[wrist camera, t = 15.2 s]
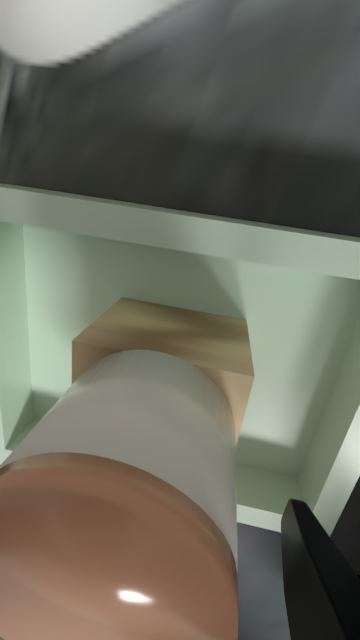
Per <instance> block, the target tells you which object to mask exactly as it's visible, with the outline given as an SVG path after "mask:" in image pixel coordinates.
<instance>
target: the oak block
mask: <svg viewBox="0 0 360 640" xmlns="http://www.w3.org/2000/svg"><path fill="white" fill-rule="evenodd" d="M127 350H151V351H158V352H162V353H166V354H170V355H173V356H175V357H178V358H180V359H183V360H185V361H187V362H188V363H190V364H192V365H194V366H195V367H197V368H198V369H200V370H201V371H202V372H204V373H205V374H206V375H207V376H208V377H209V378H211V379H212V380H213V381H214V382H215V384H216V385H217V386H218V387H219V388H220V389H221V391H222V392H223V394H224V396H225V397H226V399H227V401H228V403H229V405H230V407H231V410H232V413H233V416H234V421H235V433H236V445H237V441H238V438H239V434H240V430H241V426H242V423H243V419H244V415H245V411H246V408H247V404H248V400H249V396H250V393H251V389H252V385H253V381H254V378H255V375H254V368H253V361H252V354H251V347H250V340H249V333H248V326H247V320H244V319H239V318H233V317H228V316H222V315H217V314H211V313H206V312H200V311H195V310H189V309H184V308H178V307H173V306H167V305H162V304H156V303H151V302H145V301H140V300H134V299H129V298H123V297H121V298H120V299H119V300H118V301H117V302H115V303H114V304H113V305H112V306H111V307H110V308H109V309H107V310H106V311H105V312H104V313H103V314H102V315H101V316H99V317H98V318H97V319H96V320H95V321H94V322H93V323H91V324H90V325H89V326H88V327H87V328H86V329H85V330H83V331H82V332H81V333H80V334H79V335H78V336H77V337H75V338H74V339H73V340H72V384H73V383H74V382H75V381H76V380H77V378H78V377H79V376H80V375H81V374H82V373H83V372H84V371H85V370H86V369H87V368H88V367H89V366H90V365H91V364H93V363H94V362H96V361H97V360H99V359H101V358H103V357H105V356H108V355H110V354H113V353H117V352H121V351H127Z"/></svg>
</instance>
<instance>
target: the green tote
mask: <svg viewBox="0 0 360 640" xmlns="http://www.w3.org/2000/svg"><path fill="white" fill-rule="evenodd" d="M121 297H123V298H129V299H134V300H140V301H145V302H151V303H156V304H162V305H167V306H173V307H178V308H184V309H189V310H195V311H200V312H206V313H211V314H217V315H222V316H228V317H233V318H239V319H244V320H247V326H248V333H249V340H250V347H251V354H252V361H253V368H254V375H255V378H254V381H253V385H252V389H251V393H250V396H249V400H248V404H247V408H246V411H245V415H244V419H243V423H242V426H241V430H240V434H239V438H238V441H237V445H236V500H237V522H239V523H244V524H248V525H252V526H256V527H260V528H264V529H269V530H273V531H277V532H281V519H282V515H283V513H284V510H285V508H286V505H287V502H288V500H289V499H290V498H293V499H298V500H302V501H304V502H305V503H307V505H308V506H309V508H310V509H311V511H312V512H313V513H314V515H315V516H316V518H317V519H318V521H319V522H320V524H321V525H322V526H323V528H324V529H325V531H326V532H327V534H328V535H329V537H330V536H331V533H332V531H333V529H334V527H335V525H336V523H337V521H338V519H339V517H340V515H341V513H342V511H343V509H344V507H345V505H346V503H347V501H348V499H349V497H350V495H351V492H352V490H353V488H354V486H355V484H356V482H357V480H358V478H359V476H360V237H353V236H347V235H340V234H334V233H327V232H320V231H314V230H307V229H301V228H294V227H288V226H281V225H275V224H268V223H262V222H255V221H248V220H242V219H235V218H229V217H222V216H216V215H209V214H203V213H196V212H190V211H183V210H176V209H170V208H163V207H157V206H150V205H144V204H137V203H131V202H124V201H117V200H111V199H104V198H98V197H91V196H85V195H78V194H72V193H65V192H59V191H52V190H45V189H39V188H32V187H26V186H19V185H13V184H2V183H0V465H1V464H2V463H3V462H4V461H5V460H6V459H7V457H8V456H9V455H10V454H11V453H12V452H13V451H14V450H15V448H16V447H17V446H18V445H19V444H20V443H21V442H22V441H23V439H24V438H25V437H26V436H27V435H28V434H29V433H30V431H31V430H32V429H33V428H34V427H35V426H36V425H37V424H38V422H39V421H40V420H41V419H42V418H43V417H44V416H45V415H46V413H47V412H48V411H49V410H50V409H51V408H52V407H53V405H54V404H55V403H56V402H57V401H58V400H59V399H60V398H61V396H62V395H63V394H64V393H65V392H66V391H67V390H68V389H69V387H70V386H71V385H72V340H73V339H74V338H75V337H77V336H78V335H79V334H80V333H81V332H82V331H83V330H85V329H86V328H87V327H88V326H89V325H90V324H91V323H93V322H94V321H95V320H96V319H97V318H98V317H99V316H101V315H102V314H103V313H104V312H105V311H106V310H107V309H109V308H110V307H111V306H112V305H113V304H114V303H115V302H117V301H118V300H119V299H120V298H121Z"/></svg>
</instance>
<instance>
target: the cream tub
mask: <svg viewBox="0 0 360 640" xmlns="http://www.w3.org/2000/svg"><path fill="white" fill-rule="evenodd" d="M0 636H1V637H2V638H3V639H4V640H237V638H238V567H237V500H236V433H235V421H234V416H233V413H232V410H231V407H230V405H229V403H228V401H227V399H226V397H225V396H224V394H223V392H222V391H221V389H220V388H219V387H218V386H217V385H216V384H215V382H214V381H213V380H212V379H211V378H209V377H208V376H207V375H206V374H205V373H204V372H202V371H201V370H200V369H198V368H197V367H195V366H194V365H192V364H190V363H188V362H187V361H185V360H183V359H180V358H178V357H175V356H173V355H170V354H166V353H162V352H158V351H151V350H127V351H121V352H117V353H113V354H110V355H108V356H105V357H103V358H101V359H99V360H97V361H96V362H94V363H93V364H91V365H90V366H89V367H88V368H87V369H86V370H85V371H84V372H83V373H82V374H81V375H80V376H79V377H78V378H77V380H76V381H75V382H74V383H73V384H72V385H71V386H70V387H69V389H68V390H67V391H66V392H65V393H64V394H63V395H62V396H61V398H60V399H59V400H58V401H57V402H56V403H55V404H54V405H53V407H52V408H51V409H50V410H49V411H48V412H47V413H46V415H45V416H44V417H43V418H42V419H41V420H40V421H39V422H38V424H37V425H36V426H35V427H34V428H33V429H32V430H31V431H30V433H29V434H28V435H27V436H26V437H25V438H24V439H23V441H22V442H21V443H20V444H19V445H18V446H17V447H16V448H15V450H14V451H13V452H12V453H11V454H10V455H9V456H8V457H7V459H6V460H5V461H4V462H3V463H2V464H1V465H0Z"/></svg>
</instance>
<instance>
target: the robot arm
mask: <svg viewBox="0 0 360 640" xmlns="http://www.w3.org/2000/svg"><path fill="white" fill-rule="evenodd" d="M281 541H282V561H283V581H284V593H285V602H286V609H287V616H288V622H289V629H290V636H291V640H360V578H358V577H357V576H356V574H355V573H354V571H353V570H352V568H351V567H350V565H349V564H348V563H347V561H346V560H345V558H344V557H343V555H342V554H341V552H340V551H339V550H338V548H337V547H336V545H335V544H334V542H333V541H332V539H331V538H330V537H329V535H328V534H327V532H326V531H325V529H324V528H323V526H322V525H321V524H320V522H319V521H318V519H317V518H316V516H315V515H314V513H313V512H312V511H311V509H310V508H309V506H308V505H307V503H305V502H304V501H302V500H298V499H293V498H290V499H289V500H288V502H287V505H286V508H285V510H284V513H283V515H282V519H281Z"/></svg>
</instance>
